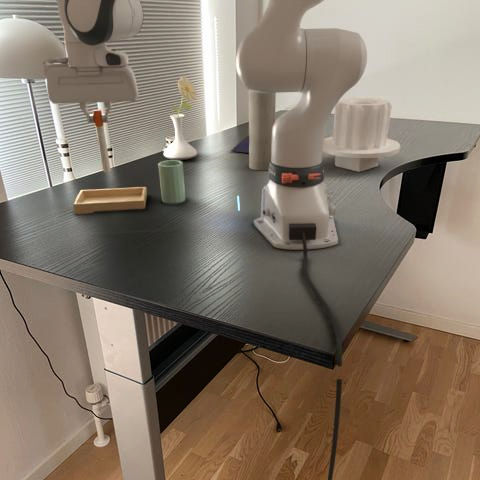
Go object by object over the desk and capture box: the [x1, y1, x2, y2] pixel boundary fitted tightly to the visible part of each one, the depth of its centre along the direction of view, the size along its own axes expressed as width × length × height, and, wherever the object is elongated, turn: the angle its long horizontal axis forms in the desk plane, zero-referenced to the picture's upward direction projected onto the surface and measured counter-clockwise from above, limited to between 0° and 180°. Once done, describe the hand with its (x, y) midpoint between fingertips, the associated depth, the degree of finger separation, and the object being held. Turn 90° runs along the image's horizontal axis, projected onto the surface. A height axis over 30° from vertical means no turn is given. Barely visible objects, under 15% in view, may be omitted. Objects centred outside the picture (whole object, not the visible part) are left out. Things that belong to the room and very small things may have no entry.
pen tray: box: [72, 186, 148, 215], centre depth 124 cm, size 11×17×3 cm, turn 97°
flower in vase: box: [163, 76, 198, 161], centre depth 157 cm, size 13×11×25 cm
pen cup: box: [157, 159, 187, 204], centre depth 124 cm, size 6×6×10 cm
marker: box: [92, 109, 112, 174], centre depth 116 cm, size 2×2×14 cm
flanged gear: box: [323, 97, 401, 173], centre depth 147 cm, size 25×25×19 cm
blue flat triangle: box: [230, 135, 249, 154], centre depth 176 cm, size 24×30×4 cm
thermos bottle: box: [248, 89, 277, 171], centre depth 145 cm, size 8×8×28 cm
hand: (98, 122), depth 114 cm, fingers closed on marker, 2 cm apart
